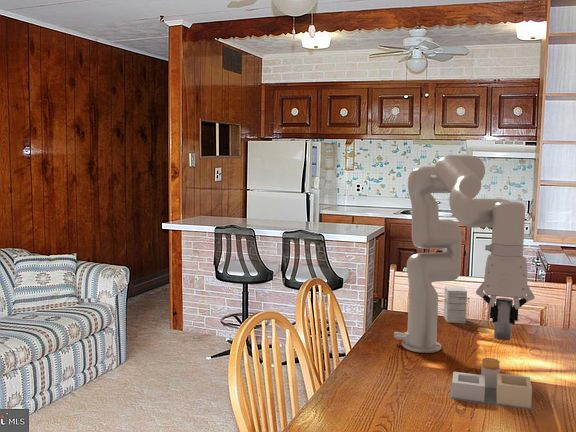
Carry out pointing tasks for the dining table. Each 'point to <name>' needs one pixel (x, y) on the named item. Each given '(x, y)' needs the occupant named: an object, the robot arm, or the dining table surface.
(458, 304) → the supplement box
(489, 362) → the button
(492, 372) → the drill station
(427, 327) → the robot arm
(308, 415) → the dining table surface
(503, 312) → the grey rounded cylinder
